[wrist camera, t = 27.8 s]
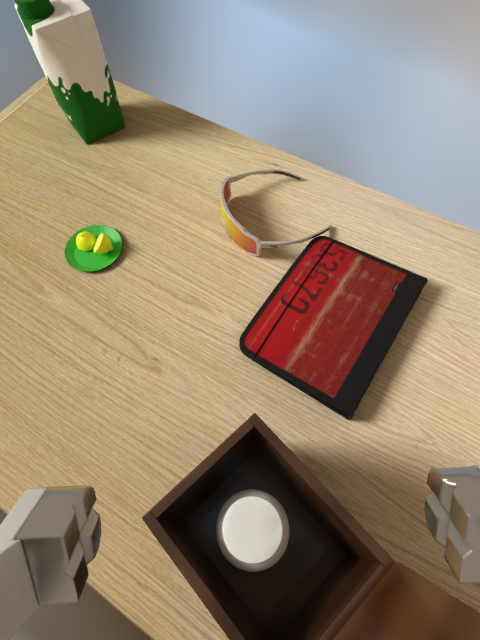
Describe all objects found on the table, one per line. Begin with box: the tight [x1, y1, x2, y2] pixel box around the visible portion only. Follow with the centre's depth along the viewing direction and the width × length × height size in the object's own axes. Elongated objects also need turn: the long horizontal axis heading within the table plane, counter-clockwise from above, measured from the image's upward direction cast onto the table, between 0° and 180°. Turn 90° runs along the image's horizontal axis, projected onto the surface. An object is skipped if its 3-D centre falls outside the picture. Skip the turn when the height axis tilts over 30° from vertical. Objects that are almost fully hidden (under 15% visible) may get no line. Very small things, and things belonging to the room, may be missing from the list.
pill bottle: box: [216, 489, 290, 572], centre depth 37 cm, size 6×6×11 cm
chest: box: [142, 413, 395, 640], centre depth 36 cm, size 15×12×13 cm
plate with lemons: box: [65, 225, 122, 271], centre depth 58 cm, size 8×8×3 cm
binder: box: [240, 236, 428, 420], centre depth 52 cm, size 16×2×21 cm
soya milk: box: [14, 0, 125, 144], centre depth 62 cm, size 9×9×20 cm
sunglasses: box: [220, 169, 332, 256], centre depth 59 cm, size 14×15×5 cm
